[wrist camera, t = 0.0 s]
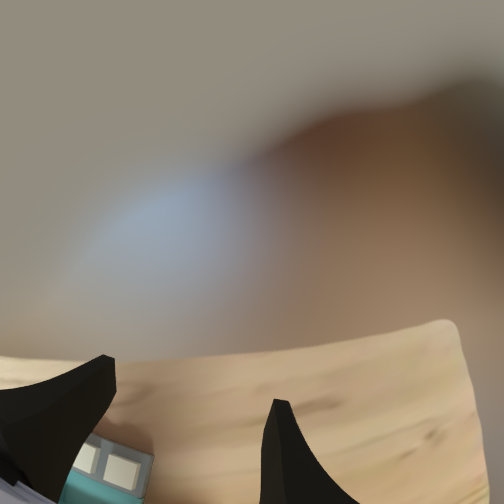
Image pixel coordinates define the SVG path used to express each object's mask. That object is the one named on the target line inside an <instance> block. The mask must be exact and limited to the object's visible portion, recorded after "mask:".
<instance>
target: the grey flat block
mask: <svg viewBox="0 0 504 504" xmlns="http://www.w3.org/2000/svg"><path fill="white" fill-rule="evenodd" d="M85 442H87V443H89V444H91V445H94V446H96V447H98V448H101V451H100V455H99V459H98V463H97V467H96V472H95V473H91V474H89V473H87V472H85V471H83V470H80V469H78V468H76V467H74V466H72V468H71V470H73V471H75V472H78V473H80V474H82V475H84V476H86V477H88V478H90V479H93V480H95V481H97V482H100V483H102V484H104V485H107V486H109V487H112V488H114V489H117V490H119V491H122V492H124V493H127V494H130V495H133V496H136V497H138V498H142V497H144V496H145V493H146V489H147V485H148V480H149V476H150V472H151V468H152V463H153V459H154V455H150V454H147V453H144V452H141V451H138V450H135V449H133V448H130V447H127V446H124V445H122V444H119V443H116V442H114V441H111V440H109V439H106V438H104V437H101V436H99V435H96V434H94V433H92V432H91V434H90V435H89V436H88V438H87V439H86V441H85ZM109 454H116V455H118V456H121V457H123V458H126V459H129V460H132V461H134V462H137V463H140V464H141V466H140V471H139V475H138V479H137V484H136V488H135V489H134V490H132V491H131V490H128V489H126V488H123V487H120V486H118V485H115V484H113V483H110V482H108V481H105V480H103V478H104V473H105V469H106V465H107V461H108V457H109Z"/></svg>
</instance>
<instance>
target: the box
mask: <svg viewBox="0 0 504 504" xmlns="http://www.w3.org/2000/svg"><path fill="white" fill-rule="evenodd" d="M144 498H145V497H142V498H138V497H136V496H133V495H130V494H127V493H124V492H122V491H119V490H117V489H114V488H112V487H109V486H107V485H104V484H102V483H100V482H97V481H95V480H93V479H90V478H88V477H86V476H84V475H82V474H80V473H78V472H75V471H73V470H70V473H69V475H68V478H67V480H66V483H65V485H64V488H63V490H62V493H61V496H60V499H59V502H58V504H143V502H144Z"/></svg>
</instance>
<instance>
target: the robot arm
mask: <svg viewBox="0 0 504 504" xmlns="http://www.w3.org/2000/svg"><path fill="white" fill-rule="evenodd" d="M116 392H117V390H116V376H115V359H114V358H112V357H109V356H106V355H101V356H99V357H97V358H95V359H93V360H91V361H89V362H87V363H85V364H83V365H81V366H79V367H77V368H75V369H73V370H71V371H69V372H66V373H64V374H61V375H59V376H57V377H54V378H52V379H49V380H46V381H43V382H40V383H37V384H33V385H29V386H24V387H19V388H13V389H4V390H0V504H58V502H59V499H60V496H61V493H62V490H63V488H64V485H65V483H66V480H67V478H68V475H69V473H70V470H71V468H72V466H73V464H74V462H75V460H76V458H77V456H78V454H79V452H80V450H81V448H82V446H83V444H84V443H85V441H86V439H87V438H88V436H89V435H90V434H91V432H92V431H93V429H94V428H95V426H96V425H97V424H98V422H99V421H100V419H101V418H102V416H103V415H104V414H105V412H106V411H107V409H108V408H109V406H110V404H111V402H112V400H113V398H114V396H115V394H116ZM259 504H360V503H358V502H357V501H355V500H354V499H353V498H351V497H350V496H349V495H348V494H347V493H346V492H345V491H343V490H342V489H341V488H340V487H339V486H338V485H337V484H336V483H335V481H334V480H333V479H332V478H331V477H330V476H329V475H328V474H327V472H326V471H325V470H324V469H323V467H322V466H321V465H320V463H319V462H318V461H317V459H316V458H315V456H314V455H313V453H312V451H311V450H310V448H309V446H308V444H307V443H306V441H305V439H304V437H303V435H302V433H301V431H300V429H299V426H298V424H297V422H296V419H295V417H294V414H293V412H292V409H291V406H290V403H289V402H288V401H285V400H279V399H274V400H273V403H272V406H271V410H270V413H269V416H268V419H267V422H266V425H265V428H264V433H263V440H262V447H261V493H260V502H259Z"/></svg>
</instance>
